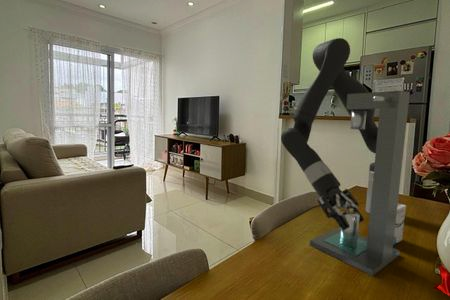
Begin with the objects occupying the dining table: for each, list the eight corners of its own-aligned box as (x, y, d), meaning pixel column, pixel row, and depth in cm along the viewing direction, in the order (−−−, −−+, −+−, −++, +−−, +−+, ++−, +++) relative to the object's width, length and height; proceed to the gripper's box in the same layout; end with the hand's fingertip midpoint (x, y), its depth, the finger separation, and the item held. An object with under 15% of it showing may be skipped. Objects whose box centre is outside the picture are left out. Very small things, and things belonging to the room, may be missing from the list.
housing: (344, 236, 77) (347, 204, 76) (360, 243, 73) (363, 209, 72) (335, 241, 74) (338, 207, 73) (351, 248, 70) (354, 212, 69)
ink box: (390, 247, 74) (395, 200, 72) (372, 240, 78) (377, 196, 76) (402, 240, 79) (407, 195, 77) (385, 233, 83) (390, 191, 81)
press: (338, 231, 84) (348, 97, 78) (398, 255, 70) (417, 93, 64) (306, 246, 74) (315, 94, 68) (369, 278, 60) (387, 88, 54)
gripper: (315, 174, 73) (351, 225, 65) (341, 169, 81) (376, 213, 73) (300, 188, 78) (331, 236, 70) (326, 181, 86) (356, 224, 78)
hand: (354, 225), depth 72 cm, fingers open, 8 cm apart
